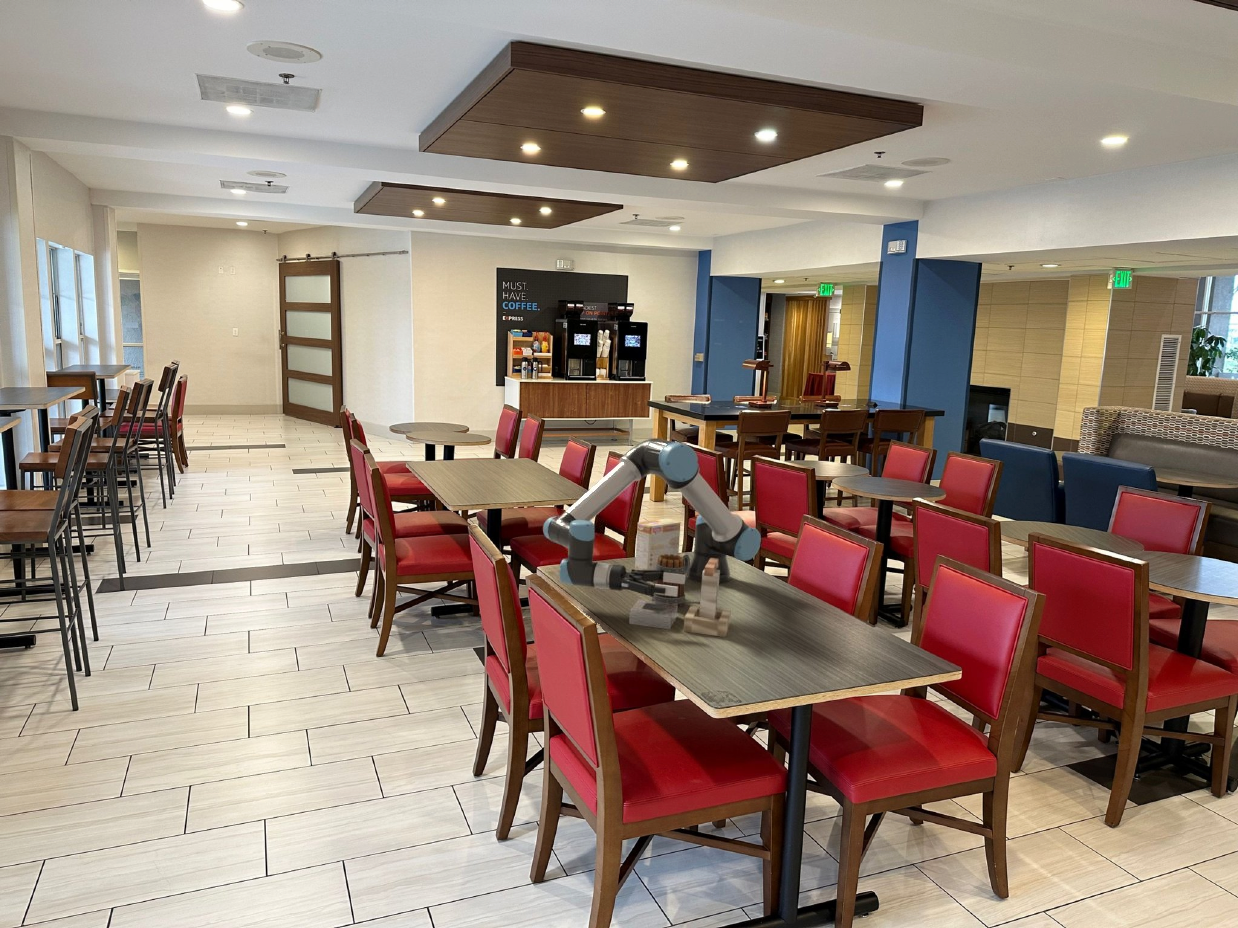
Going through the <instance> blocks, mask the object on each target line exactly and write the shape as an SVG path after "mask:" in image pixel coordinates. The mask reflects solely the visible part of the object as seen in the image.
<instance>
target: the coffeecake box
mask: <svg viewBox="0 0 1238 928" xmlns="http://www.w3.org/2000/svg"><path fill="white" fill-rule="evenodd" d="M636 527H637V528H636V532H637V533H636V546H635V547H636V549H635V563H634V570H656V565H657V561H658V557H659V556H660V555H664V554H668V555H670V554H674V555H680V554H679V553H680V552H679V550H680V538H681V537H680V535H681V522H680V521H678V520H674V519H671V518H662V519H655V520H650V521H649V520H647V521H639V522H637V526H636Z"/></svg>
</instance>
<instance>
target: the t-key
mask: <svg viewBox="0 0 1238 928" xmlns="http://www.w3.org/2000/svg"><path fill="white" fill-rule="evenodd" d="M718 561H719V559H717V558H710V560H709V561H708V563H707V565H706V566H705V569H704V570H703V573H702V582H701V587H700V588H701V589H700V590H701V591H700V600H699V601H700V602H699V607H700V613H699V617H702V618H710V619H716V612H717V609H718V600H719V599H718V597H719V596H718V595H719V585H720V583H719V574H720V570H716V569H717V568H718Z"/></svg>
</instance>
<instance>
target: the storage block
mask: <svg viewBox="0 0 1238 928" xmlns="http://www.w3.org/2000/svg"><path fill="white" fill-rule="evenodd" d="M699 613H700V606H696V605H690V607H689V609H688V610H687V612H686V614H685V616H684V619H683V620H684V621H683V632H688V633H692V634H693V633H695V634H703V635H709V636H717V637H723V638H725V637H726V636H727V632H728V631H729V627H730V624H731V614H732V612H731V610H727V609H726V610H725V609H719V608H717V612H716V619H710V618H702V617H699Z"/></svg>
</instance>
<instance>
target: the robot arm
mask: <svg viewBox="0 0 1238 928" xmlns="http://www.w3.org/2000/svg"><path fill="white" fill-rule="evenodd" d="M618 461H619V463H618V464H617V465H616V466H614V467H613V468H612V469H611V470H610V471H608V473H606V474H605V476H603V477H602V478H600V480H599V481H598V482H597V483H596V484H594V485H593V486H592V487H591V488H590V489H589V490H587V492H585V493H584V494H583V495H582V496H581V497H579V498H578V500H576V501H575V502H574V503H572V505H571V506H570V507H569V508H567V510H565V511H564V512H562V513H561V515H559V516H551V517H548V518H547V519H546V520H545V522H544V523H543V527H542V531H543V534H544V537H546V539H548V540H550V541H551V542H552V543H556V544H558V545H561V546H563V547H565V548H566V549H568V550H567V551H568V552H567V558H563V559H562V560H561V562H560V564H559V570H558V578H559V580H560V582H562V584H567V585H572V586H580V587H588V588H589V587H590V588H596V589H599V590H600V591H602V590H603V589H605V590H608V589H610V590H611V591H612V590H613V591H619V592H621V591H623V590H628V591H631V592H635V593H638V594H641V595H645V596H649V597H651V598H652V597H653V596H654V594H660V595H668V596H675V597H677V593H678V587H676V586H668V585H660V584H655V587H654V584H652V583H650V582H655V581H661V580H663V582H670V583H678V584H684V585H685V583H686V581H685V575H682V574H674V573H665V572H664V569H661V570H635V568H634V569H631V572H630V571H629V572H627V569H626V566H625V565H623V564H616V563H615V564H611V563H606V562H595V561H593V560H594V546H595V538H596V536H595V535H596V534H595V524H594V522H593V521H592V520H593V519H594V518H595V517H596V516H597V515H599V513H600V512H602V510H604V509H606V507H607V506H608V505H610V503H612V502H613V501H614V500H615V499H616V498H617V497H618V496H620V495H621V493H623V492H624V491H625V490H626V489H627V488H628V487H629V486H630V485H632V484H633V483H634V482H635V481H636V482H637V481H638V482H639V481H641V480H642V479H643V478H644V477H646V476H648V475H654V476H658V477H660V478H662V480H663V481H664V482H665V483H666V485H668V487H669V488H670V489H672V490H676V491H677V490H678V491H679V493H681V495H682V496H683V498H684V499H686V501H687V502H688V503H689V504H690V505H691V507H693V509H694V510H695V511H696V513H697V514H698V515H697V517H696V520H695V521H696V522H695V529H694V545H693V546H694V547H693V555H692V559H690V568H689V573H688V576H687V578H689V579H692V580H694V581H697V582H700V583H702V573H703V570H704V569H705V566H706V565H707V563H708V561H709V560H710V558H717V559H719V561H718V568H717V569H716V570H720V574H719V584H720V583H726V582H729V581H730V579H731V571H730V568H729V563H728V558H727V556H728V557H731V558H734V559H736V560H738V561H743V562H745V561H749V560H752V559H753V558H754V557H755V556H756V554H758V553H759V549H760V547H761V541H762V537H761V533H760V532H759V530H758V529H757V528H755V527H754V526H749V525H748V523H746V522H745V521H744V520H743V518H742V517H741V516H740V515H738V514H735V513H732V512H731V510H730V509H729V508H728V507H727V506H726V504H725V503H724V502H723V501H722V500H721V498H720V497H719V496H718V495H717V494H716V492H715V491H714V490H713V489H712V488H711V486H710V485H709V483H708V482H707V481H706V480H705V478H703V476H702V475H701V474H700V465H699V463H698V461H699V459H698V455H697V453H696V451H695V450H694V449H693V448H692V447H691V446H689V445H687V444H685V443H683V442H681V441H680V442H678V441H671V440H666V439H662V438H658V437H657V438H655V437H654V438H649V439H646V440H643V441H642V442H639V443H638V444H637V445H635V446H633V447H631V448H630V449H629V450H628V451H627V452H626V453H624V455H622V456H621V457H620V458H619V460H618Z"/></svg>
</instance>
